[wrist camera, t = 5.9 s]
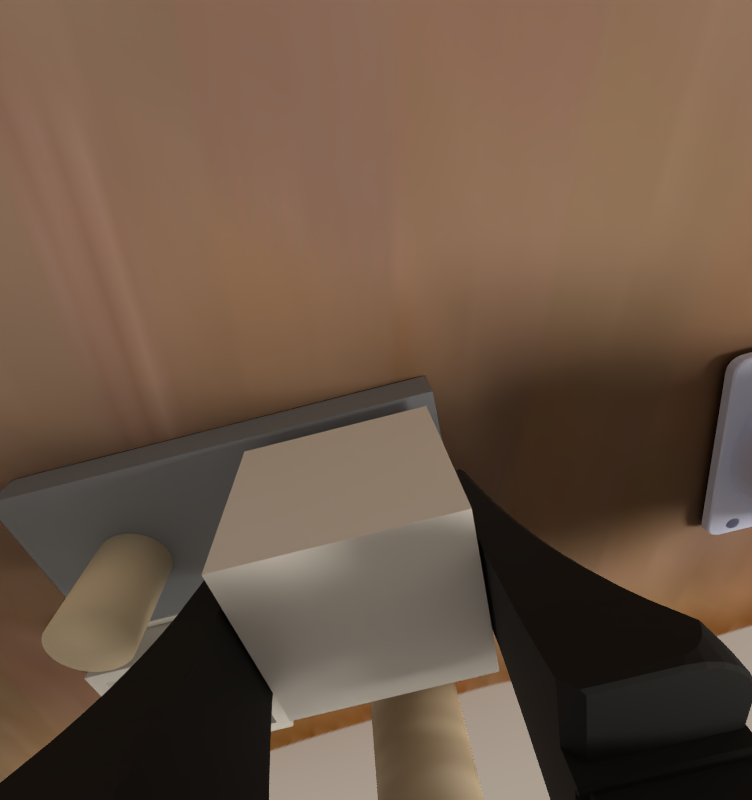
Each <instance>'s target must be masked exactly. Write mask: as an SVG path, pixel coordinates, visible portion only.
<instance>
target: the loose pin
mask: <svg viewBox="0 0 752 800" xmlns="http://www.w3.org/2000/svg"><path fill="white" fill-rule="evenodd" d="M371 711H372V725H373V737H374V751H375V765H376V778H377V792H378V800H484V798H483V794H482V790H481V786H480V782H479V778H478V774H477V770H476V766H475V763H474V758H473V754H472V750H471V746H470V742H469V738H468V734H467V730H466V726H465V722H464V718H463V714H462V710H461V706H460V702H459V698H458V694H457V690H456V686H455V682H453V683H449V684H445V685H440V686H436V687H432V688H428V689H424V690H419V691H415V692H411V693H407V694H402V695H398V696H394V697H390V698H386V699H381V700H377V701H373V702H371Z"/></svg>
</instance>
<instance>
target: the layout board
mask: <svg viewBox="0 0 752 800" xmlns="http://www.w3.org/2000/svg"><path fill="white" fill-rule="evenodd" d="M424 406H427V408H428V411H429V413H430V415H431V417H432V420H433V422H434V424H435V426H436V429H437V431H438V433H439V435H440V438H441V440H442V437H441V432H440V427H439V421H438V416H437V411H436V406H435V401H434V395H433V391H432V389H431V387H430V385H429V383H428V381H427V379H426V377H425V376H421V377H417V378H413V379H410V380H406V381H402V382H398V383H394V384H390V385H386V386H382V387H378V388H374V389H370V390H366V391H362V392H358V393H354V394H350V395H346V396H342V397H338V398H335V399H331V400H327V401H323V402H319V403H315V404H311V405H307V406H303V407H299V408H295V409H291V410H287V411H283V412H279V413H275V414H271V415H267V416H263V417H259V418H256V419H252V420H248V421H244V422H240V423H236V424H232V425H228V426H224V427H220V428H216V429H212V430H208V431H204V432H200V433H196V434H192V435H188V436H184V437H180V438H177V439H173V440H169V441H165V442H161V443H157V444H153V445H149V446H145V447H141V448H137V449H133V450H129V451H125V452H121V453H117V454H113V455H109V456H105V457H102V458H98V459H94V460H90V461H86V462H82V463H78V464H74V465H70V466H66V467H62V468H58V469H54V470H50V471H46V472H42V473H38V474H34V475H30V476H26V477H23V478H19V479H15V480H12V481H11V482H10V483H9V484H8V485H7V486H6V487H4V488H3V489H2V490H1V491H0V521H1V522H2V523H3V524H4V526H5V527H6V528H7V529H8V530H9V531H10V533H11V534H12V535H13V536H14V537H15V539H16V540H17V541H18V542H19V543H20V544H21V546H22V547H23V548H24V549H25V550H26V551H27V553H28V554H29V555H30V556H31V557H32V559H33V560H34V561H35V562H36V563H37V564H38V566H39V567H40V568H41V569H42V570H43V571H44V573H45V574H46V575H47V576H48V577H49V579H50V580H51V581H52V582H53V583H54V584H55V586H56V587H57V588H58V589H59V590H60V592H61V593H62V594H63V595H64V596H65V597H66V599H65V600H64V602H63V603H62V605H61V606H60V608H59V609H58V611H57V612H56V614H55V615H54V617H53V618H52V620H51V621H50V623H49V624H48V626H47V627H46V629H45V630H44V632H43V634H42V645H43V648H44V650H45V651H46V652H47V654H48V655H49V656H50V657H51V658H53V659H54V660H55V661H57V662H59V663H60V664H62V665H64V666H67V667H70V668H73V669H76V670H81V671H88V672H87V674H86V676H85V678H84V679H85V680H86V681H87V682H88V683H89V684H90V685H91V686H92V687H93V688H94V689H95V690H96V691H97V692H98V693H99V695H100V696H102V695H104V694H105V693H106V692H107V691H108V690H109V689H110V688H111V687H112V686H113V685H114V684H115V683H116V682H117V681H118V680H119V679H120V678H121V677H122V676H123V675H124V674H125V673H126V672H127V671H128V669H129V668H130V667H131V666H132V665H133V664H134V663H135V662H136V661H137V660H138V659H139V658H140V657H141V656H142V655H143V654H144V653H145V652H146V651H147V650H148V649H149V647H150V646H151V645H152V644H153V643H154V642H155V641H156V640H157V639H158V637H159V636H160V635H161V634H162V633H163V632H164V631H165V629H166V628H167V627H168V626H169V625H170V623H171V622H172V621H173V620H174V619H175V617H176V616H177V615H178V614H179V612H180V611H181V610H182V608H183V607H184V606H185V604H186V603H187V602H188V601H189V599H190V598H191V597H192V595H193V594H194V593H195V591H196V590H197V589H198V588H199V586H200V585H201V584H202V582H203V581H204V578H203V577H202V572H203V569H204V566H205V563H206V560H207V558H208V555H209V552H210V549H211V546H212V543H213V540H214V538H215V535H216V532H217V529H218V526H219V523H220V520H221V517H222V515H223V512H224V509H225V506H226V503H227V500H228V497H229V494H230V492H231V489H232V486H233V483H234V480H235V477H236V474H237V472H238V469H239V466H240V463H241V460H242V457H243V454H244V452H245V451H249V450H253V449H257V448H261V447H265V446H269V445H273V444H277V443H281V442H285V441H289V440H293V439H297V438H301V437H304V436H308V435H312V434H316V433H320V432H324V431H328V430H332V429H336V428H340V427H344V426H348V425H352V424H356V423H360V422H364V421H368V420H372V419H376V418H380V417H384V416H388V415H392V414H396V413H400V412H404V411H408V410H412V409H416V408H420V407H424ZM293 721H294V720H293ZM293 721H290V720H289V719H288V717H287V715H286V714H285V712H284V710H283V709H282V707H281V705H280V704H279V702H278V700H277V699H276V697H275V695H274V694H273V699H272V717H271V731H274V730H278V729H283V728H287V727H291V726H293Z"/></svg>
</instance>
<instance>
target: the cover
mask: <svg viewBox="0 0 752 800" xmlns="http://www.w3.org/2000/svg"><path fill="white" fill-rule="evenodd" d="M202 577H203V578H204V580H205V582H206V583H207V585H208V587H209V588H210V590H211V592H212V593H213V595H214V597H215V598H216V600H217V601H218V603H219V605H220V606H221V608H222V610H223V611H224V613H225V615H226V616H227V618H228V620H229V621H230V623H231V625H232V626H233V628H234V630H235V631H236V633H237V634H238V636H239V638H240V639H241V641H242V643H243V644H244V646H245V648H246V649H247V651H248V653H249V654H250V656H251V658H252V659H253V661H254V662H255V664H256V666H257V667H258V669H259V671H260V672H261V674H262V676H263V677H264V679H265V681H266V682H267V684H268V686H269V687H270V689H271V691H272V692H273V694H274V695H275V697H276V699H277V700H278V702H279V704H280V705H281V707H282V709H283V710H284V712H285V714H286V715H287V717H288V719H289V720H290V721H293V720H297V719H301V718H305V717H309V716H314V715H318V714H322V713H326V712H331V711H335V710H339V709H343V708H348V707H352V706H356V705H360V704H364V703H369V702H373V701H377V700H381V699H386V698H390V697H394V696H398V695H402V694H407V693H411V692H415V691H419V690H424V689H428V688H432V687H436V686H440V685H445V684H449V683H453V682H457V681H462V680H466V679H470V678H474V677H478V676H483V675H487V674H491V673H495V672H499V667H498V661H497V655H496V649H495V643H494V637H493V631H492V625H491V619H490V613H489V607H488V601H487V596H486V590H485V584H484V578H483V572H482V566H481V560H480V554H479V548H478V542H477V536H476V530H475V524H474V519H473V513H472V508H471V506H470V503H469V501H468V499H467V497H466V494H465V492H464V490H463V488H462V485H461V483H460V481H459V478H458V476H457V474H456V472H455V469H454V467H453V465H452V463H451V460H450V458H449V456H448V454H447V451H446V449H445V447H444V445H443V442H442V440H441V438H440V435H439V433H438V431H437V429H436V426H435V424H434V422H433V420H432V417H431V415H430V413H429V411H428V408H427V406H424V407H420V408H416V409H412V410H408V411H404V412H400V413H396V414H392V415H388V416H384V417H380V418H376V419H372V420H368V421H364V422H360V423H356V424H352V425H348V426H344V427H340V428H336V429H332V430H328V431H324V432H320V433H316V434H312V435H308V436H304V437H301V438H297V439H293V440H289V441H285V442H281V443H277V444H273V445H269V446H265V447H261V448H257V449H253V450H249V451H245V452H244V454H243V457H242V460H241V463H240V466H239V469H238V472H237V474H236V477H235V480H234V483H233V486H232V489H231V492H230V494H229V497H228V500H227V503H226V506H225V509H224V512H223V515H222V517H221V520H220V523H219V526H218V529H217V532H216V535H215V538H214V540H213V543H212V546H211V549H210V552H209V555H208V558H207V560H206V563H205V566H204V569H203V572H202Z"/></svg>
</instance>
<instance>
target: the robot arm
mask: <svg viewBox="0 0 752 800" xmlns="http://www.w3.org/2000/svg"><path fill="white" fill-rule="evenodd" d="M455 472H456V474H457V476H458V478H459V481H460V483H461V485H462V488H463V490H464V492H465V494H466V497H467V499H468V501H469V503H470V506H471V508H472V513H473V519H474V524H475V530H476V536H477V542H478V548H479V554H480V560H481V566H482V572H483V578H484V584H485V590H486V596H487V601H488V607H489V613H490V619H491V625H492V629H493V632H494V634H495V637H496V639H497V642H498V644H499V647H500V650H501V653H502V656H503V658H504V661H505V664H506V667H507V670H508V673H509V676H510V679H511V682H512V684H513V688H514V691H515V694H516V696H517V699H518V703H519V705H520V708H521V711H522V714H523V717H524V720H525V723H526V726H527V729H528V732H529V735H530V738H531V741H532V744H533V748H534V750H535V754H536V756H537V760H538V762H539V766H540V768H541V772H542V775H543V778H544V781H545V784H546V787H547V790H548V793H549V796H550V800H752V732H751V731H750V729H749V728H748V727H747V726H746V724H745V723H746V720H747V717H748V713H749V710H750V707H751V704H752V676H751V674H750V672H749V671H748V670H747V669H746V668H745V666H743V664H742V663H741V662H740V661H739V659H738V658H737V657H736V656H735V655H734V654H733V653H732V652H731V651H730V650H729V649H728V648H727V646H726V645H724V643H723V642H721V640H719V639H718V638H717V637H716V636H715V635H714V634H713V633H712V632H711V631H710V630H709V629H708V628H707V627H706V626H705V625H704V624H703V623H702V622H701V621H699V620H697V619H695V618H692V617H690V616H687V615H685V614H682V613H680V612H677V611H675V610H672V609H670V608H668V607H665V606H663V605H660V604H658V603H655V602H653V601H650V600H648V599H646V598H643V597H641V596H639V595H637V594H635V593H633V592H631V591H629V590H626V589H624V588H622V587H620V586H618V585H616V584H614V583H612V582H611V581H609V580H607V579H605V578H603V577H601V576H599V575H598V574H596V573H594V572H592V571H590V570H588V569H586V568H585V567H583V566H581V565H579V564H578V563H576V562H574V561H573V560H571V559H570V558H568V557H566V556H565V555H563V554H561V553H560V552H558V551H557V550H555V549H554V548H552V547H551V546H549V545H548V544H546V543H545V542H543V541H542V540H541V539H539V538H538V537H536V536H535V535H534V534H532V533H531V532H530V531H528V530H527V529H526V528H525V527H523V526H522V525H521V524H519V523H518V522H517V521H516V520H514V519H513V518H512V517H511V516H510V515H508V514H507V513H506V512H505V511H504V510H503V509H502V508H500V507H499V506H498V505H497V504H496V503H495V502H494V501H492V500H491V499H490V498H489V497H488V496H487V495H486V494H485V493H484V492H483V491H482V490H481V489H480V488H479V487H478V486H477V485H476V484H475V483H474V482H473V481H472V480H471V478H470V477H469V476H468V475H467V474H466V473H465V472H464V471H462V470H458V471H455ZM702 527H703V528H704V529H705V530H706V531H707V532H708V533H709V534H712V535H718V534H723V533H727V532H731V531H735V530H739V529H743V528H747V527H752V352H751V353H747V354H743V355H740V356H738V357H736V358H735V359H733V360H732V361H731V362H730V363H729V365H728V366H727V369H726V372H725V379H724V385H723V391H722V398H721V404H720V410H719V416H718V423H717V429H716V435H715V442H714V448H713V454H712V461H711V467H710V473H709V479H708V486H707V492H706V498H705V505H704V511H703V517H702ZM272 699H273V692H272V691H271V689H270V687H269V686H268V684H267V682H266V681H265V679H264V677H263V676H262V674H261V672H260V671H259V669H258V667H257V666H256V664H255V662H254V661H253V659H252V658H251V656H250V654H249V653H248V651H247V649H246V648H245V646H244V644H243V643H242V641H241V639H240V638H239V636H238V634H237V633H236V631H235V630H234V628H233V626H232V625H231V623H230V621H229V620H228V618H227V616H226V615H225V613H224V611H223V610H222V608H221V606H220V605H219V603H218V601H217V600H216V598H215V597H214V595H213V593H212V592H211V590H210V588H209V587H208V585H207V583H206V582H205V580H204V581H203V582H202V584H201V585H200V586H199V588H198V589H197V590H196V591H195V593H194V594H193V595H192V597H191V598H190V599H189V601H188V602H187V603H186V604H185V606H184V607H183V608H182V610H181V611H180V612H179V614H178V615H177V616H176V617H175V619H174V620H173V621H172V622H171V623H170V625H169V626H168V627H167V628H166V629H165V631H164V632H163V633H162V634H161V635H160V636H159V637H158V639H157V640H156V641H155V642H154V643H153V644H152V645H151V646H150V647H149V649H148V650H147V651H146V652H145V653H144V654H143V655H142V656H141V657H140V658H139V659H138V660H137V661H136V662H135V663H134V664H133V665H132V666H131V667H130V668H129V669H128V671H127V672H126V673H125V674H124V675H123V676H122V677H121V678H120V679H119V680H118V681H117V682H116V683H115V684H114V685H113V686H112V687H111V688H110V689H109V690H108V691H107V692H106V693H105V694H104V695H102V696H101V697H100V698H99V699H98V700H97V701H96V702H95V703H94V704H93V705H92V706H91V707H90V708H89V709H87V710H86V711H85V712H84V713H83V714H82V715H81V716H80V717H79V718H77V719H76V720H75V721H74V722H73V723H72V724H71V725H70V726H68V727H67V728H66V729H65V730H64V731H63V732H62V733H60V734H59V735H58V736H57V737H56V738H55V739H53V740H52V741H51V742H50V743H49V744H48V745H46V746H45V747H44V748H43V749H41V750H40V751H39V752H38V753H37V754H35V755H34V756H33V757H32V758H30V759H29V760H28V761H27V762H25V763H24V764H23V765H22V766H21V767H19V768H18V769H17V770H16V771H14V772H13V773H12V774H11V775H9V776H8V777H7V778H6V779H4V780H3V781H2V782H1V783H0V800H269V768H270V767H269V766H270V737H271V717H272Z"/></svg>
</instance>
